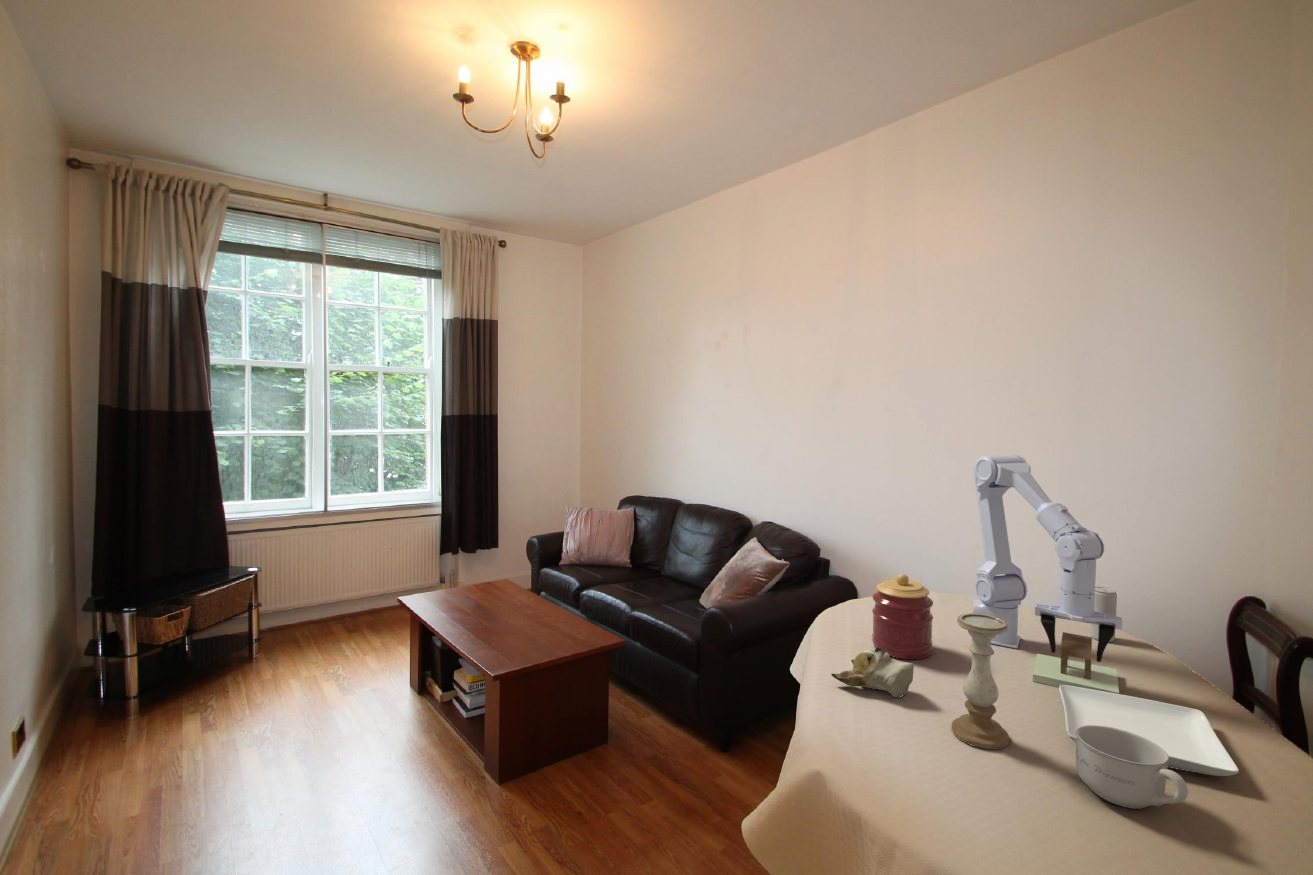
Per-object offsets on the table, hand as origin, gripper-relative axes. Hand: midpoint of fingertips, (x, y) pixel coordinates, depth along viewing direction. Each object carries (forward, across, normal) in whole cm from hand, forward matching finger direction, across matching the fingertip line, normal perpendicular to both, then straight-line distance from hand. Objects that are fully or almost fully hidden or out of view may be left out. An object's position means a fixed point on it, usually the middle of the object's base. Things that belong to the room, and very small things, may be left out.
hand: (1075, 655), depth 125 cm
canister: (+5, -33, -4) cm, 34 cm away
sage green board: (+5, 0, 0) cm, 5 cm away
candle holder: (+5, -13, -34) cm, 37 cm away
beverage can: (+5, +5, +28) cm, 29 cm away
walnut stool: (+3, 0, 0) cm, 3 cm away
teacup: (+5, +7, -41) cm, 42 cm away
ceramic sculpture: (+5, -33, -26) cm, 42 cm away
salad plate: (+6, +9, -20) cm, 23 cm away
